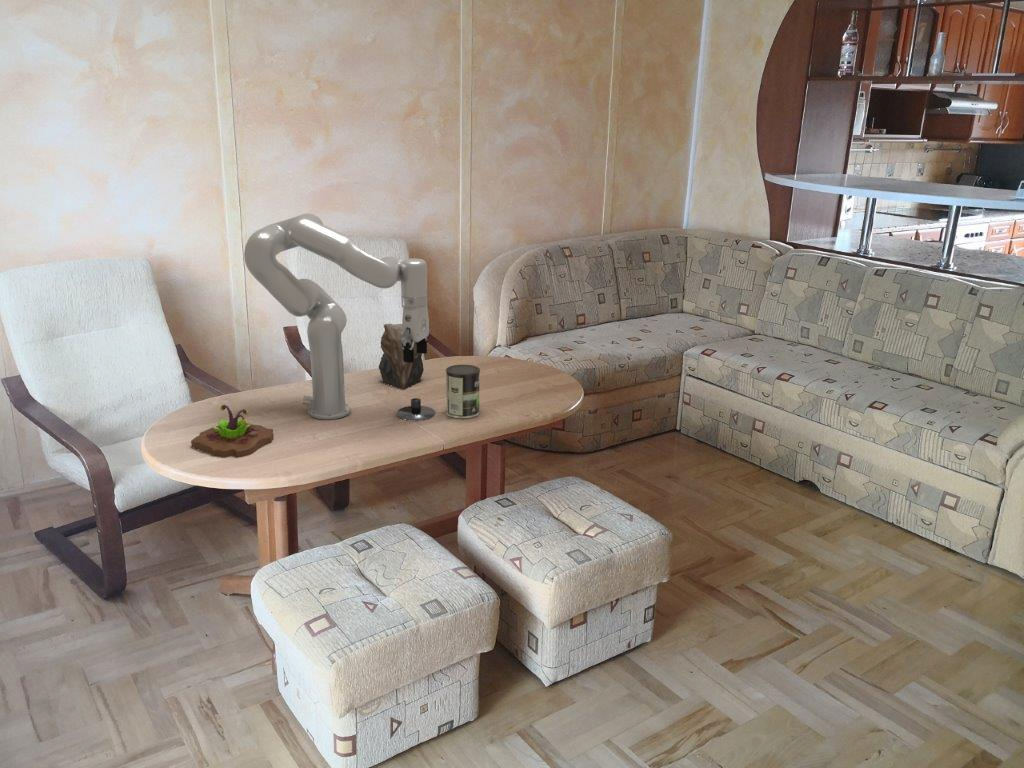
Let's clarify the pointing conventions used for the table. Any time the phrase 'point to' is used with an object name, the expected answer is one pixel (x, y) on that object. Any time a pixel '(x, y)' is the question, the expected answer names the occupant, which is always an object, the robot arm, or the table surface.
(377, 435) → the table surface
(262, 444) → the plant
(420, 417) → the lid
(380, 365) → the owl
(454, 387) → the coffee can
